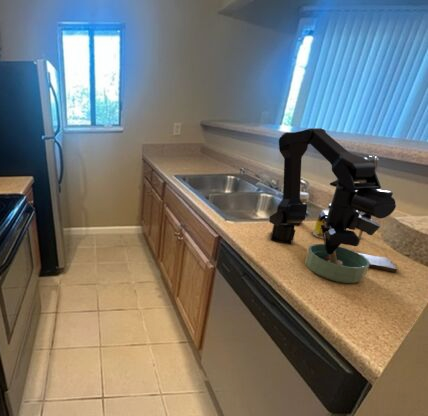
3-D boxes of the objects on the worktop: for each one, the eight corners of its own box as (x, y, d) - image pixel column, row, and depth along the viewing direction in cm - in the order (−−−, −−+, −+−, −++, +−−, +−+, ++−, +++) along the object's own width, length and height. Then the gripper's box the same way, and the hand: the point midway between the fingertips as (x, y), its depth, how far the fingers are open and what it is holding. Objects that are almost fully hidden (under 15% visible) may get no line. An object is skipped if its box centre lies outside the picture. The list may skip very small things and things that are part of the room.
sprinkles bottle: (302, 223, 117) (311, 193, 112) (297, 225, 115) (306, 195, 110) (291, 219, 121) (298, 190, 116) (286, 222, 118) (293, 192, 113)
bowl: (307, 276, 82) (312, 260, 80) (302, 254, 93) (306, 240, 91) (370, 290, 75) (377, 273, 73) (356, 265, 87) (361, 250, 85)
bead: (326, 260, 86) (322, 255, 88) (327, 264, 87) (323, 259, 89) (333, 257, 86) (328, 253, 87) (334, 261, 86) (330, 257, 88)
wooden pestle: (327, 269, 83) (320, 234, 82) (325, 263, 87) (319, 230, 85) (344, 268, 81) (338, 233, 80) (341, 262, 84) (335, 228, 83)
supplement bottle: (315, 238, 104) (323, 213, 100) (310, 232, 109) (317, 208, 105) (333, 240, 102) (341, 214, 99) (327, 233, 107) (334, 209, 104)
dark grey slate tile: (357, 264, 87) (358, 261, 87) (351, 254, 93) (352, 251, 92) (395, 272, 83) (397, 269, 82) (387, 261, 89) (388, 258, 88)
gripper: (395, 221, 67) (373, 275, 72) (370, 199, 82) (354, 245, 88) (338, 213, 72) (321, 264, 77) (324, 194, 87) (311, 237, 93)
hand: (328, 252), depth 84 cm, fingers closed on wooden pestle, 2 cm apart
